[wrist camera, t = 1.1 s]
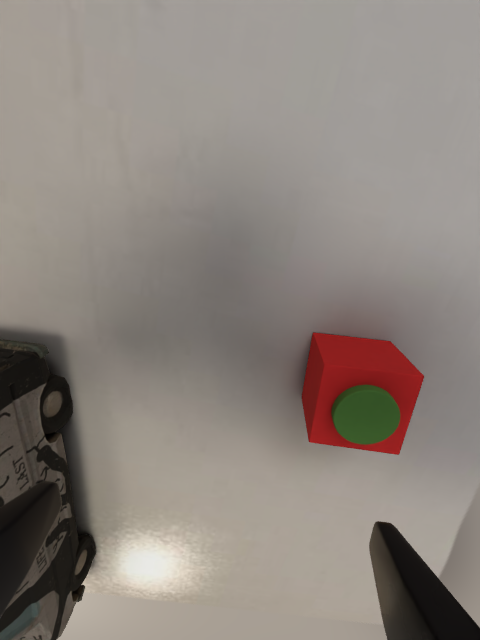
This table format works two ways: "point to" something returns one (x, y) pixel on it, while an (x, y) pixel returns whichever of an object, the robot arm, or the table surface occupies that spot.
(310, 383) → the red cube
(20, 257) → the table surface
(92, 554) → the toy car
